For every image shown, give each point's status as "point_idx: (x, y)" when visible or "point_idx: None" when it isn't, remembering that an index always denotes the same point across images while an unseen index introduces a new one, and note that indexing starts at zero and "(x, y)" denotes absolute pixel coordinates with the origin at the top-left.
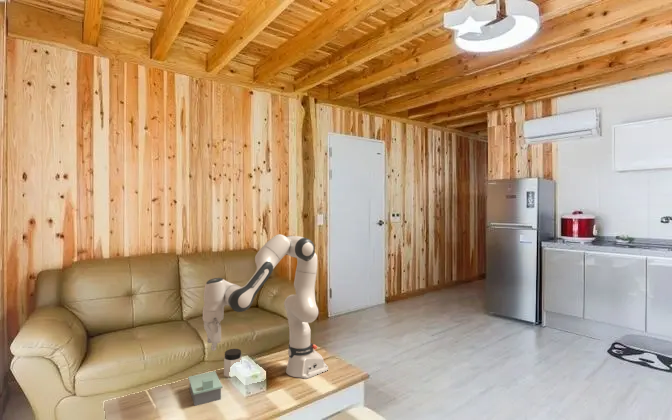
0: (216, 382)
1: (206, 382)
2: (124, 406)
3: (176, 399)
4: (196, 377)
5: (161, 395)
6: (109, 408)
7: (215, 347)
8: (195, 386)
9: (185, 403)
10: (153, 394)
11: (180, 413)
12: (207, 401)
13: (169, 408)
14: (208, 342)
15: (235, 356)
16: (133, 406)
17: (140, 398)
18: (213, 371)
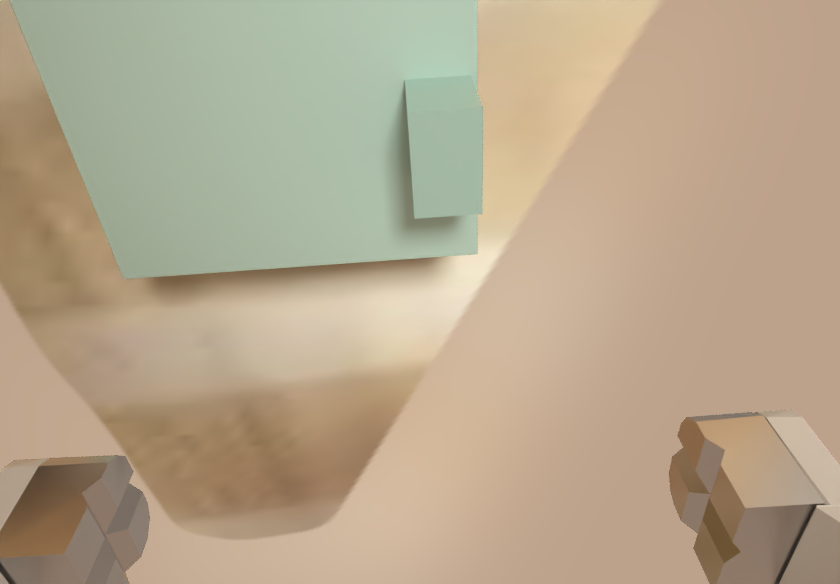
0: (349, 15)
1: (479, 178)
2: (268, 496)
3: (277, 283)
4: (158, 212)
5: (190, 361)
6: (266, 537)
7: (836, 486)
8: (357, 232)
9: None
10: (164, 398)
11: (480, 264)
12: None
13: (384, 320)
14: (143, 527)
15: None
16: (283, 467)
17: (199, 448)
18: (18, 10)
